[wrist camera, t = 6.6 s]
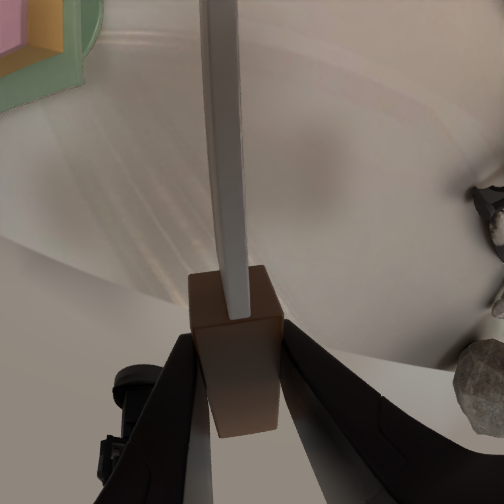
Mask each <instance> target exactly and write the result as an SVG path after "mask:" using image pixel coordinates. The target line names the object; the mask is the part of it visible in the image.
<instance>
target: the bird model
mask: <svg viewBox="0 0 504 504" xmlns="http://www.w3.org/2000/svg"><path fill="white" fill-rule="evenodd" d="M489 230H490V235H491V238H492V240H493V244H494V246H495V248H496V251H497V254H498V257H499V258H500V259H501V261H502V262H503V263H504V210H500V211H497V212H495V213H494V214H493V215H492V217H491V218H490V220H489Z"/></svg>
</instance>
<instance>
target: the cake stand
mask: <svg viewBox="0 0 504 504" xmlns="http://www.w3.org/2000/svg"><path fill="white" fill-rule="evenodd" d="M102 19H103V1H102V0H63V49H64V52H63V53H60V54H57V55H55V56H52V57H49V58H46V59H44V60H41V61H38V62H36V63H33V64H31V65H28V66H26V67H24V68H21V69H19V70H17V71H14V72H12V73H10V74H8V75H6V76H4V77H2V78H0V115H1V114H4V113H6V112H8V111H11V110H13V109H15V108H18V107H20V106H23V105H26V104H28V103H31V102H33V101H36V100H39V99H42V98H45V97H47V96H50V95H53V94H56V93H60V92H63V91H66V90H69V89H72V88H76V87H79V86H83V85H84V83H85V82H84V71H83V60H84V59H85V58H86V56H87V55H88V53H89V52H90V50H91V49H92V47H93V45H94V43H95V41H96V39H97V37H98V34H99V31H100V28H101V25H102Z"/></svg>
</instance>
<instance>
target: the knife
mask: <svg viewBox="0 0 504 504" xmlns="http://www.w3.org/2000/svg"><path fill="white" fill-rule="evenodd" d="M472 191H473V200H474V205H475V208H476V210H477V211H478V213H479V215H480V216H481V217H483V218H484V219H485V220H488V219H489V218H491V217H492V215H493V214H494V213H495V212H497V211H500V210H502V209H504V187H495V186H493V185H492V186H490V187H488V188H485V189H478V188H477V187H475V186H474V187H473V188H472Z"/></svg>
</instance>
